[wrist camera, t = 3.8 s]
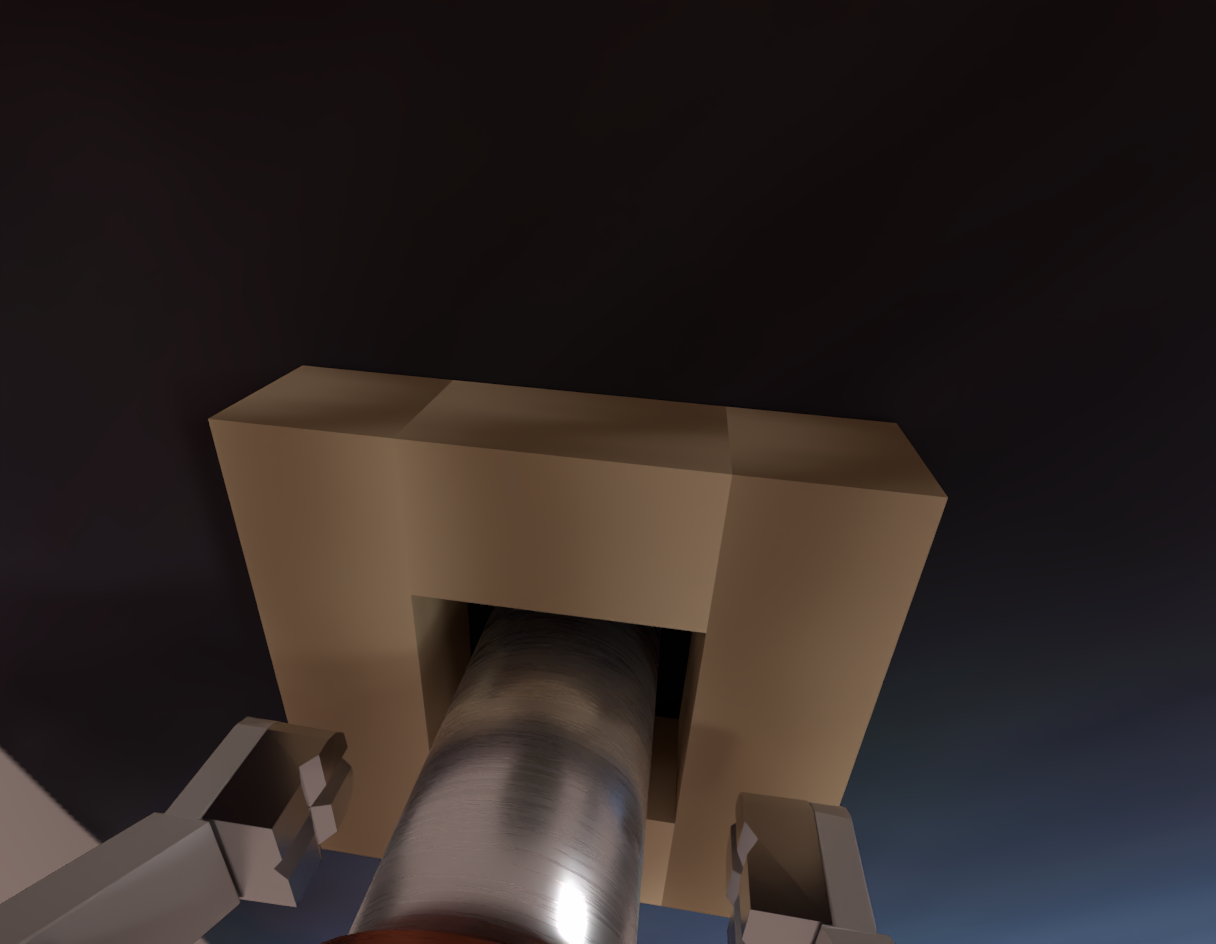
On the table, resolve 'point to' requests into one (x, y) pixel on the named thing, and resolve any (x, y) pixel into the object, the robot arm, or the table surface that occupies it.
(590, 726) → the pin
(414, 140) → the table surface
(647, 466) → the block
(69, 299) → the table surface
